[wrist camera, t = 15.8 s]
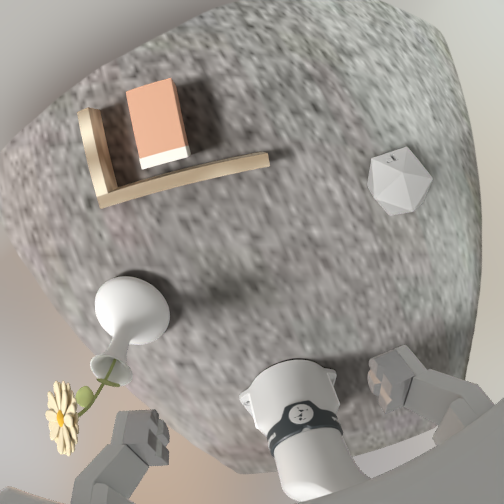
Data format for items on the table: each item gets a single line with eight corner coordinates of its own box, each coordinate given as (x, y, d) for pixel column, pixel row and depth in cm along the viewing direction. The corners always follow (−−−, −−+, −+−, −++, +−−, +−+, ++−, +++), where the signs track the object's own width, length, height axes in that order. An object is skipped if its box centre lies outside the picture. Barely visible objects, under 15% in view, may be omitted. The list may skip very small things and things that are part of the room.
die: (408, 153, 37) (417, 129, 28) (430, 209, 36) (447, 198, 27) (359, 170, 41) (356, 149, 31) (380, 226, 40) (383, 220, 30)
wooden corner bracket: (263, 163, 35) (270, 166, 31) (110, 201, 34) (100, 209, 30) (245, 71, 30) (249, 63, 26) (90, 114, 29) (77, 112, 25)
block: (176, 86, 30) (171, 77, 25) (190, 154, 33) (187, 157, 28) (136, 97, 29) (125, 91, 25) (151, 165, 33) (141, 169, 28)
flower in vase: (147, 258, 37) (90, 410, 14) (184, 323, 42) (177, 478, 19) (77, 290, 37) (1, 418, 14) (116, 346, 42) (79, 480, 19)
